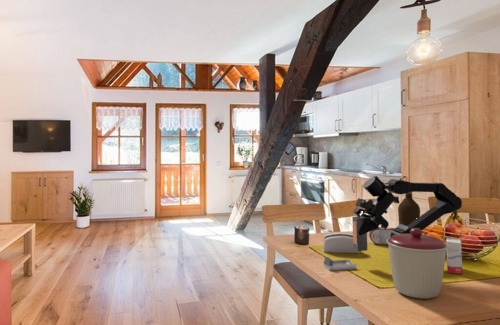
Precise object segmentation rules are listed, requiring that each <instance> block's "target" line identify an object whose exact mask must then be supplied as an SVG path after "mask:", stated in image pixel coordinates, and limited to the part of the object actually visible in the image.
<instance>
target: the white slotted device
mask: <svg viewBox="0 0 500 325" xmlns="http://www.w3.org/2000/svg"><path fill="white" fill-rule="evenodd" d="M321 250H322V253H343V254H345V253H346V254H349V253H350V254H355V253H356V254H360V252H361V251H357V250H355V249H353V233H352V234H351V233H348V232H347V233H346V232H335V233H334V232H333V233H330V234H329V233H328V234H325V235H324V237H323V244H322V249H321Z"/></svg>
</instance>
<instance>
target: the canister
mask: <svg viewBox="0 0 500 325" xmlns="http://www.w3.org/2000/svg"><path fill="white" fill-rule="evenodd" d="M386 242H387V243H388V245H387V246H388V253H389V260H390V261H389V262H390V268H391V274H392V275H391V276H392V281H393V285H394V287H395V289H396V290H397V292H398V293H401V295H404V296H405V297H409V298H414V299H419V300H420V299H423V300H424V299H426V300H427V299H428V300H429V299H434V298H436V297H437V296H439V294H440V292H441V289H442V285H443V284H442V283H443V278H444V277H443V276H444V268H445V263H446V262H445V261H446V255H447V249H448V247H449V246H448V244H447V243H446V242H444V241H443V239H440V238H438V237H436V236H431V235H426V234H423V230H421V229H419V228H412V229H411V230H410V234H397V235H393V236H391V237H390V238H388V239H387V240H386Z"/></svg>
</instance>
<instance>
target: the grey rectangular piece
mask: <svg viewBox="0 0 500 325" xmlns="http://www.w3.org/2000/svg"><path fill="white" fill-rule="evenodd" d="M350 260H351V259H335V260H332V259H331V258H330V257H329V256H324V260H323V266H324V267H325V268H326V269H327V270H328V271H329V272H331V271H343V270H356V269H357V264H356V263H352V262H351V261H350Z"/></svg>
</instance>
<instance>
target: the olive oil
mask: <svg viewBox="0 0 500 325" xmlns="http://www.w3.org/2000/svg"><path fill="white" fill-rule="evenodd" d="M404 195H405V198H404V199H403V200H402V201H401V202H399V204H398V207H397V214H398V225H400V224H403V225H405V226H407V225H409V224H410V223H412V222H413V221H415V220H416V218H419V217H420V216H421V209H420V206H419V204H418V203H417V201H415V200H414V198H413V192H410V193H407V194H404Z"/></svg>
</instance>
